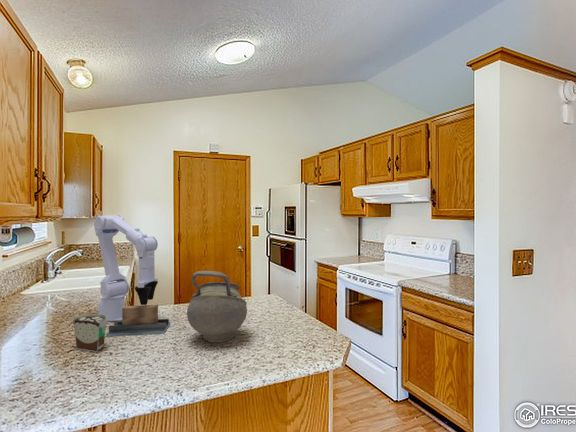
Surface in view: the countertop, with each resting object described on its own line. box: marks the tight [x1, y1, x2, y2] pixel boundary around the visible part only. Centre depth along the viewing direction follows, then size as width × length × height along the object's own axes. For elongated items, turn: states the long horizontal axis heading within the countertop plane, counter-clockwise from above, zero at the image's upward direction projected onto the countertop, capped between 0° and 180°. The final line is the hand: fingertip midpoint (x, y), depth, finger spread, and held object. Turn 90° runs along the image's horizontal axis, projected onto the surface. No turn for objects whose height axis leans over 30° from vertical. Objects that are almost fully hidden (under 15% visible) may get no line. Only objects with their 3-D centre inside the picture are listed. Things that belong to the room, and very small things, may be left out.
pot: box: [186, 270, 248, 343], centre depth 115 cm, size 21×21×25 cm
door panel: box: [121, 304, 159, 325], centre depth 124 cm, size 12×3×8 cm, turn 98°
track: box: [105, 318, 171, 338], centre depth 124 cm, size 20×10×3 cm, turn 98°
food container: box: [72, 313, 109, 353], centre depth 109 cm, size 12×6×10 cm, turn 71°
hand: (147, 302), depth 129 cm, fingers open, 7 cm apart
